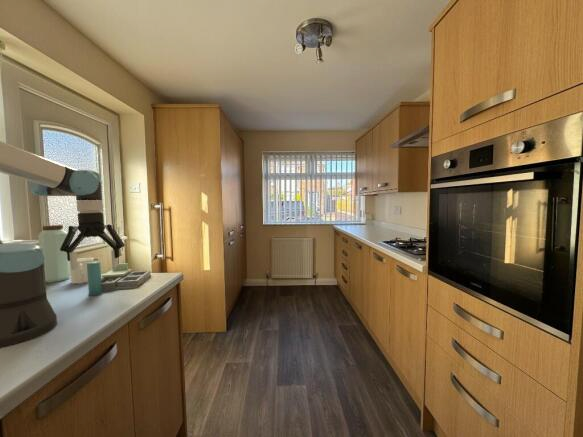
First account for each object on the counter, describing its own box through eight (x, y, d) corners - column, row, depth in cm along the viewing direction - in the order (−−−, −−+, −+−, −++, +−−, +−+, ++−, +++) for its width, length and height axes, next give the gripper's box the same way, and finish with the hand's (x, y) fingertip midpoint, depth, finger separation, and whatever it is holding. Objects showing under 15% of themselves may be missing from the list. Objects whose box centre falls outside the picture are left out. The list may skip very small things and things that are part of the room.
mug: (69, 287, 104) (67, 263, 104) (72, 280, 114) (71, 259, 113) (94, 283, 109) (92, 261, 108) (95, 277, 119) (93, 256, 118)
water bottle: (77, 276, 121) (73, 224, 119) (59, 282, 111) (55, 226, 109) (55, 276, 120) (51, 224, 118) (35, 283, 110) (30, 226, 108)
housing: (136, 288, 102) (135, 281, 101) (91, 291, 98) (90, 284, 98) (151, 275, 119) (150, 269, 119) (113, 278, 116) (112, 272, 116)
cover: (123, 275, 108) (122, 267, 108) (101, 277, 106) (101, 268, 106) (131, 270, 116) (130, 262, 116) (111, 271, 115) (111, 263, 115)
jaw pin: (98, 295, 94) (96, 263, 94) (86, 296, 93) (84, 264, 93) (104, 291, 98) (102, 261, 97) (92, 292, 97) (90, 262, 97)
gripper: (131, 210, 100) (135, 262, 102) (58, 212, 95) (63, 267, 97) (123, 211, 93) (127, 267, 95) (43, 213, 88) (49, 273, 89)
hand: (95, 267), depth 96 cm, fingers open, 13 cm apart
